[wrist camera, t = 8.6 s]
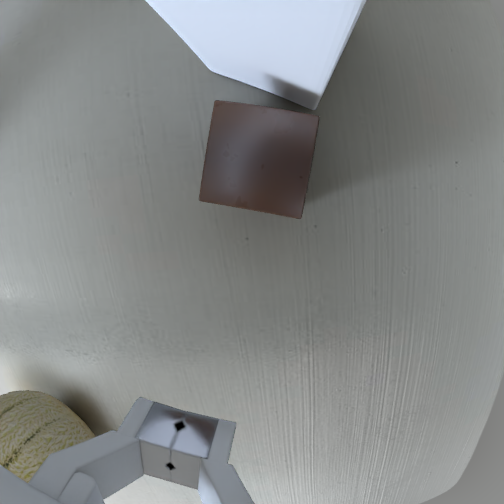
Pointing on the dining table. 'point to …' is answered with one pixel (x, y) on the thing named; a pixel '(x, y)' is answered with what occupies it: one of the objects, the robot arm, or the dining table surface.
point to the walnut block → (259, 158)
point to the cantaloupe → (36, 430)
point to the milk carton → (267, 40)
